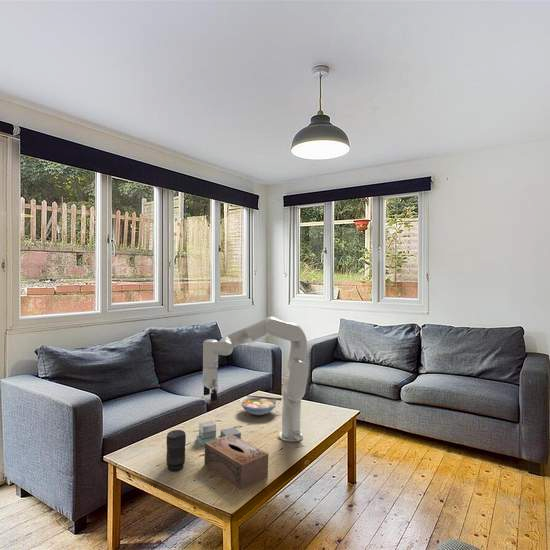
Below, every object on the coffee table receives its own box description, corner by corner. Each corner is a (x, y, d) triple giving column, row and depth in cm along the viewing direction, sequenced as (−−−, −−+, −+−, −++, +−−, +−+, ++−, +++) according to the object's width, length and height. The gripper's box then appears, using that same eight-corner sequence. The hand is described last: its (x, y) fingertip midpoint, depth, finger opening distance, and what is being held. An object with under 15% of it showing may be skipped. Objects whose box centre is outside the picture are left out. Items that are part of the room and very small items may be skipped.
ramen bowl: (231, 417, 227) (232, 403, 227) (245, 404, 249) (246, 391, 249) (272, 423, 220) (272, 409, 220) (283, 409, 242) (283, 396, 242)
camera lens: (162, 467, 168) (163, 433, 168) (178, 461, 174) (179, 428, 174) (171, 474, 162) (172, 439, 162) (188, 468, 168) (189, 433, 168)
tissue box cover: (267, 477, 163) (268, 453, 163) (241, 490, 153) (242, 465, 153) (230, 455, 181) (230, 434, 181) (204, 465, 171) (204, 443, 171)
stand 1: (217, 442, 193) (217, 437, 193) (201, 446, 189) (201, 440, 189) (211, 436, 200) (211, 431, 200) (196, 439, 196) (196, 434, 196)
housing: (202, 439, 190) (202, 427, 190) (198, 435, 195) (199, 423, 195) (215, 437, 194) (216, 424, 194) (212, 432, 199) (212, 420, 199)
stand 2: (240, 437, 200) (240, 433, 200) (226, 440, 196) (226, 435, 196) (234, 432, 207) (234, 427, 206) (220, 434, 203) (220, 430, 202)
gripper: (197, 361, 202) (197, 393, 202) (209, 368, 187) (209, 404, 187) (211, 359, 206) (210, 391, 206) (224, 367, 191) (223, 401, 191)
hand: (210, 397), depth 197 cm, fingers open, 9 cm apart
